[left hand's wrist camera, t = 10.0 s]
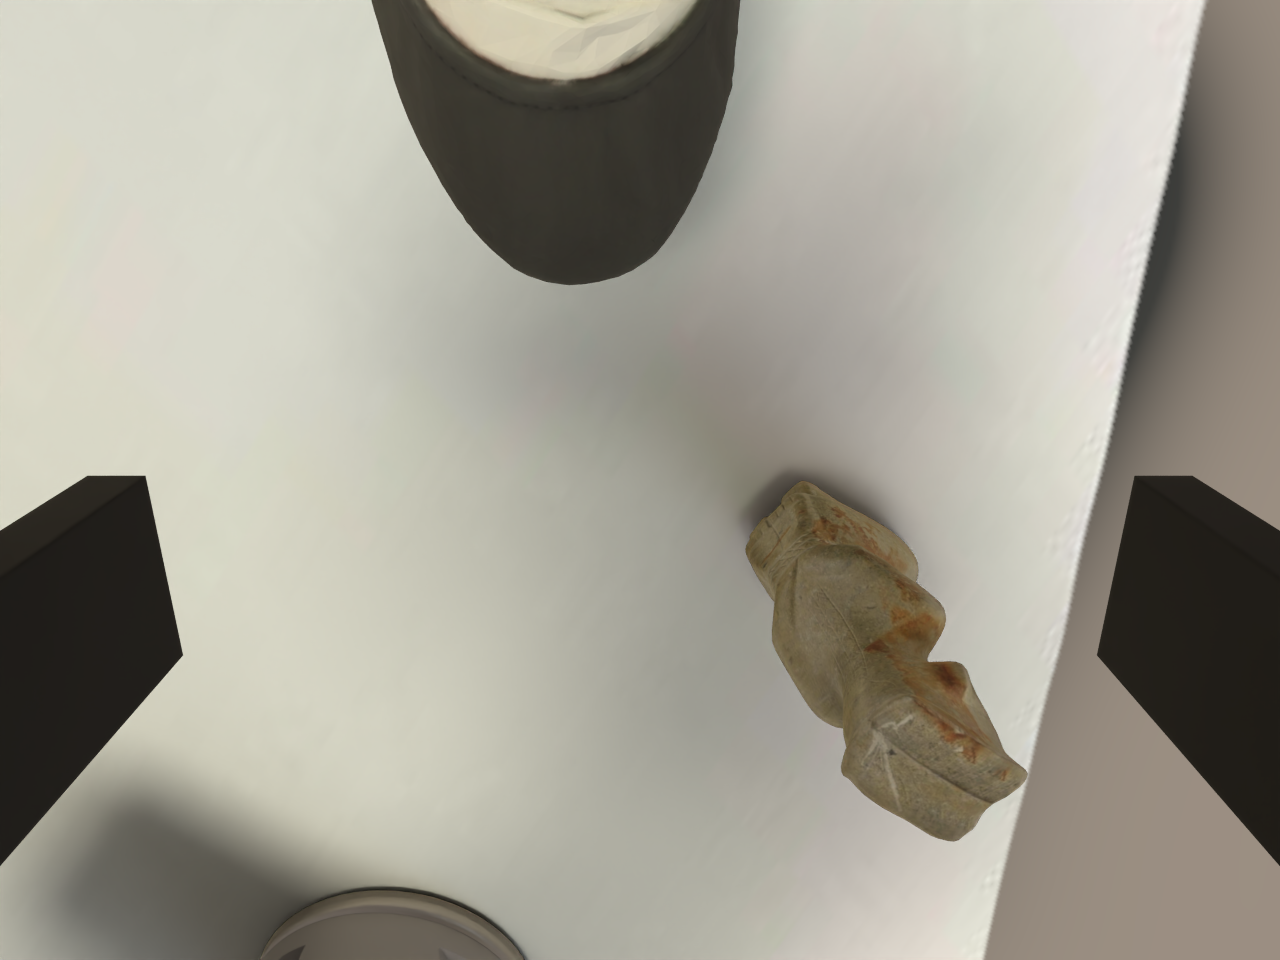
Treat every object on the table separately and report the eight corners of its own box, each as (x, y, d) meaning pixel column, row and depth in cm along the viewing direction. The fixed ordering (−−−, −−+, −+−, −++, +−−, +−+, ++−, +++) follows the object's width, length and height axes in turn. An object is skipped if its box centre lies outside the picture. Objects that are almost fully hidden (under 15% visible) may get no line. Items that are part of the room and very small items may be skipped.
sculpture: (833, 630, 41) (927, 895, 27) (715, 535, 39) (751, 766, 25) (929, 542, 39) (1082, 777, 25) (811, 438, 38) (905, 630, 24)
